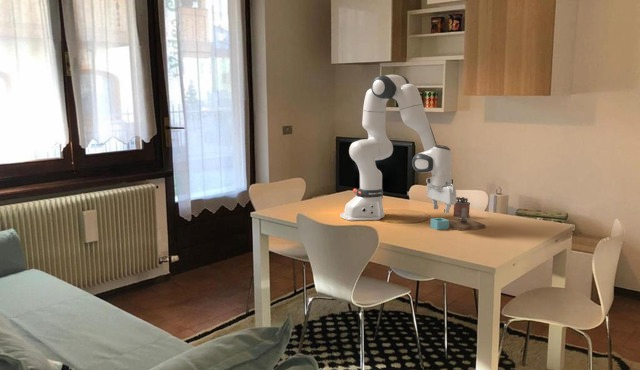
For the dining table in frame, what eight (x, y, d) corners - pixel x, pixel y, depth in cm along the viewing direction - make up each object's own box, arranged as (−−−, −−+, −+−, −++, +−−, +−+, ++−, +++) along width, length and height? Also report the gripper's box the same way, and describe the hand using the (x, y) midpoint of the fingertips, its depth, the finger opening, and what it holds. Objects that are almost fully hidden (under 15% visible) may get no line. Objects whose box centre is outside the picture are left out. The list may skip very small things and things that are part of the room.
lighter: (470, 216, 282) (470, 197, 280) (468, 218, 279) (469, 198, 277) (453, 215, 285) (454, 196, 283) (452, 216, 282) (453, 197, 280)
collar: (437, 230, 256) (437, 221, 255) (430, 227, 262) (430, 218, 261) (448, 229, 258) (448, 220, 257) (441, 225, 264) (441, 217, 263)
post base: (459, 230, 255) (459, 212, 254) (442, 223, 268) (443, 206, 267) (485, 227, 260) (486, 209, 258) (468, 221, 273) (468, 204, 271)
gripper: (460, 183, 247) (459, 214, 249) (436, 177, 266) (435, 206, 268) (447, 184, 245) (447, 215, 247) (424, 178, 264) (424, 207, 266)
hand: (441, 211), depth 258 cm, fingers open, 8 cm apart
